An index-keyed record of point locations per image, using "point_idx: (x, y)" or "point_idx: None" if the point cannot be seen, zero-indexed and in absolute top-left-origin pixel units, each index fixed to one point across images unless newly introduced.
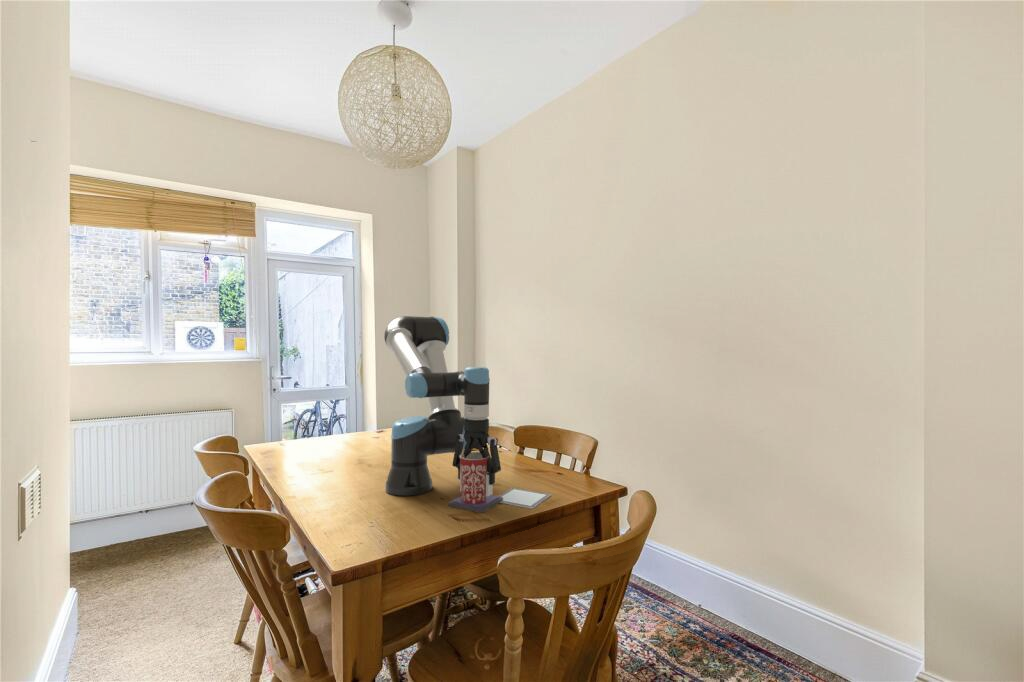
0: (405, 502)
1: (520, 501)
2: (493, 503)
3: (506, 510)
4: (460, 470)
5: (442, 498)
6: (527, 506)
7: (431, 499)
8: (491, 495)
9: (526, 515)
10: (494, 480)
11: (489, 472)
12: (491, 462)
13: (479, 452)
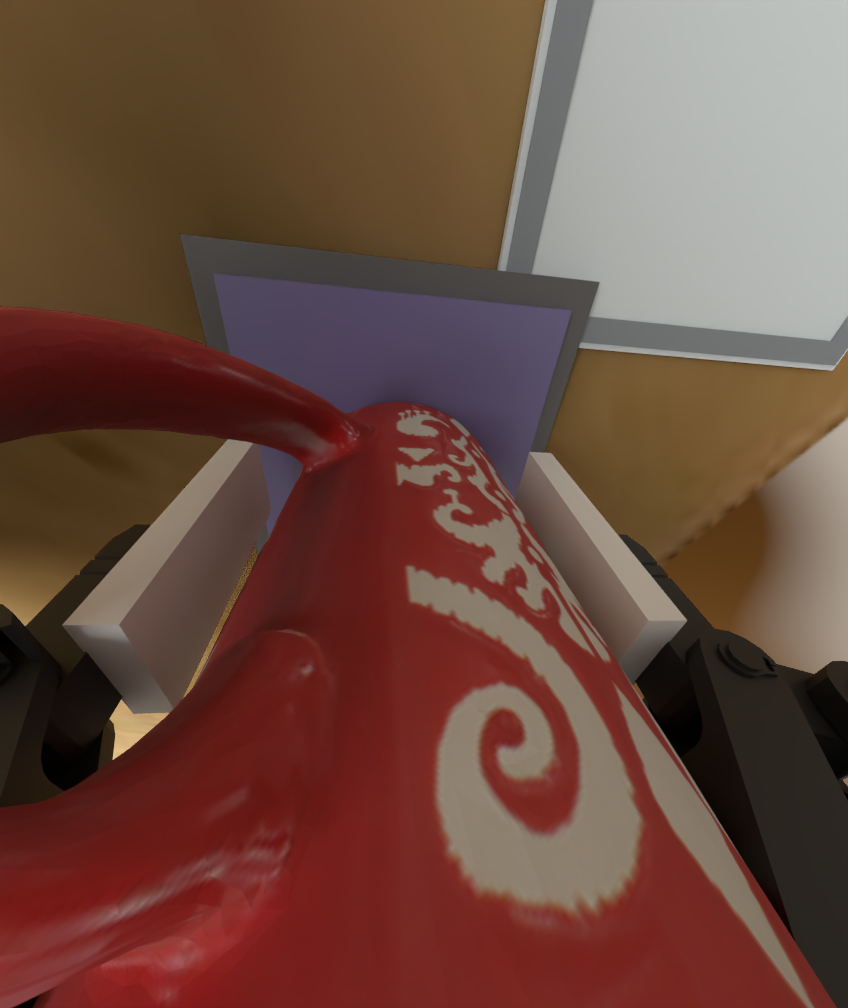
0: (4, 595)
1: (762, 254)
2: (544, 450)
3: (633, 464)
4: (147, 708)
5: (96, 451)
6: (801, 363)
7: (58, 500)
8: (487, 316)
9: (754, 483)
10: (653, 572)
11: (662, 727)
12: (837, 888)
13: None
